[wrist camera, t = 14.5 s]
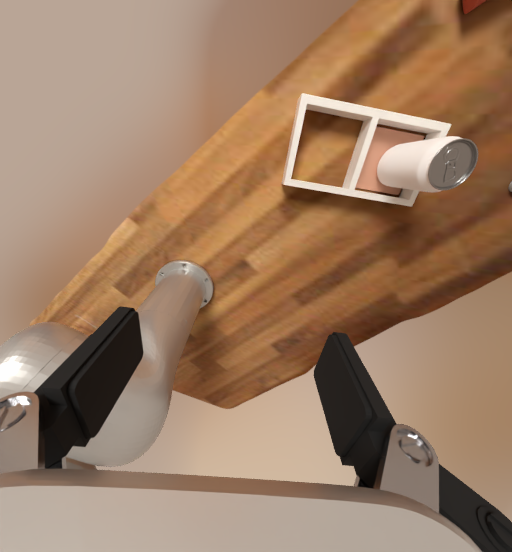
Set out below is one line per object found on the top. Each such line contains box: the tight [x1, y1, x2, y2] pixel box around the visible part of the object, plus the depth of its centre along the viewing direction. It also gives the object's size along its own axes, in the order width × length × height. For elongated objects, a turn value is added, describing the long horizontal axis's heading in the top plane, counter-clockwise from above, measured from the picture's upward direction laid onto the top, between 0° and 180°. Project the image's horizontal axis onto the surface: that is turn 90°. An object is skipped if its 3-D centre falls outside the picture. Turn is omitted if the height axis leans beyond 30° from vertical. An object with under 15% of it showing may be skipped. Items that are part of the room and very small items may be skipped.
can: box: [377, 136, 478, 192], centre depth 31 cm, size 6×6×12 cm
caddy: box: [282, 93, 451, 207], centre depth 34 cm, size 12×23×3 cm, turn 81°
